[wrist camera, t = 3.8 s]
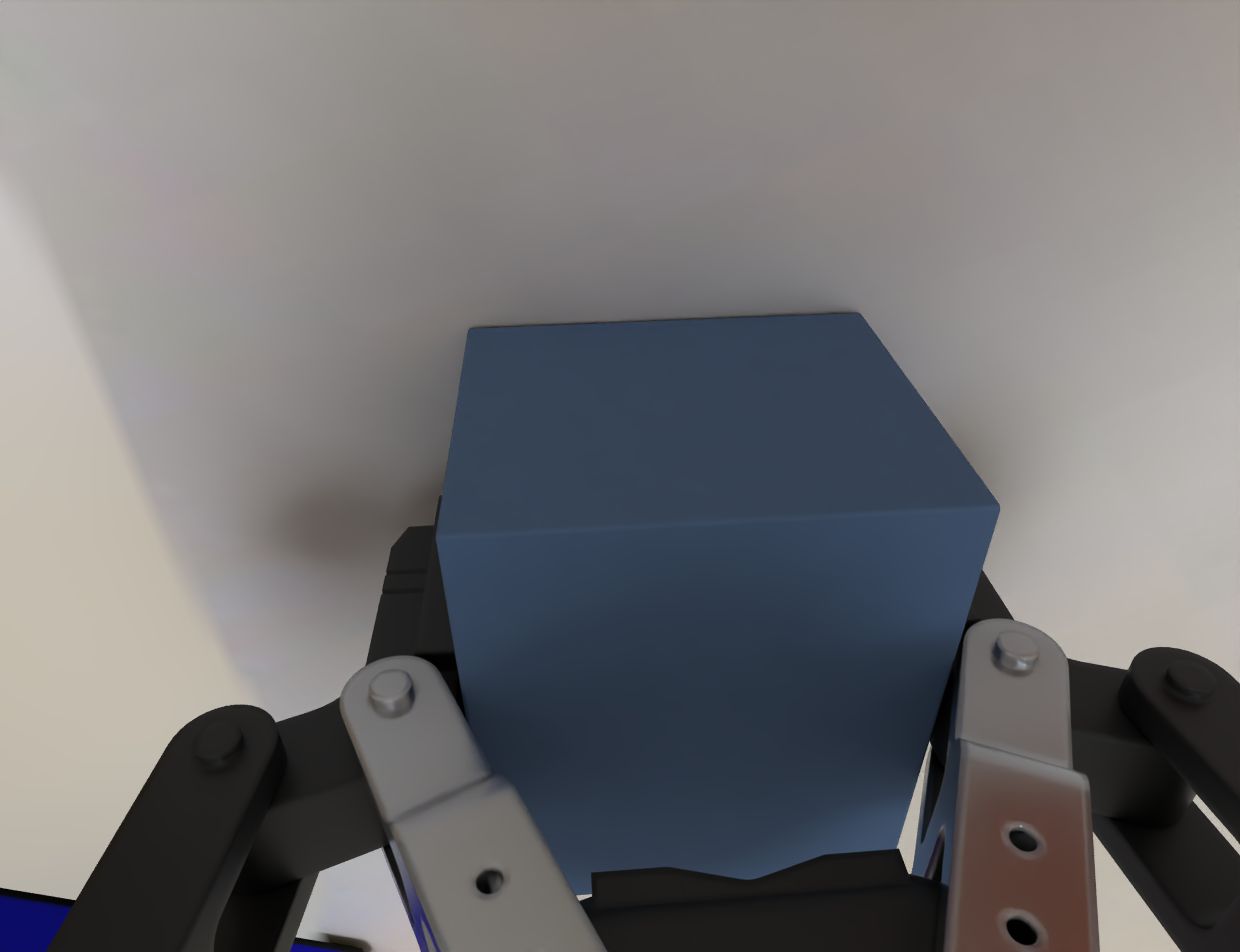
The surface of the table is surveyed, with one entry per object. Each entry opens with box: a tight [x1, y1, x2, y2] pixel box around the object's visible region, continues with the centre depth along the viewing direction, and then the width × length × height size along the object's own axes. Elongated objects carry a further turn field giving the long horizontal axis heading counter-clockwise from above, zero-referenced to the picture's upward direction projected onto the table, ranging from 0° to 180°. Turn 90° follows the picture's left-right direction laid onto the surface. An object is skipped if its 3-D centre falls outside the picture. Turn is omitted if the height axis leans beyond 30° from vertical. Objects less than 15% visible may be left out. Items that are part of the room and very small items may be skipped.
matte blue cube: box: [436, 313, 1000, 895], centre depth 13 cm, size 7×6×5 cm
